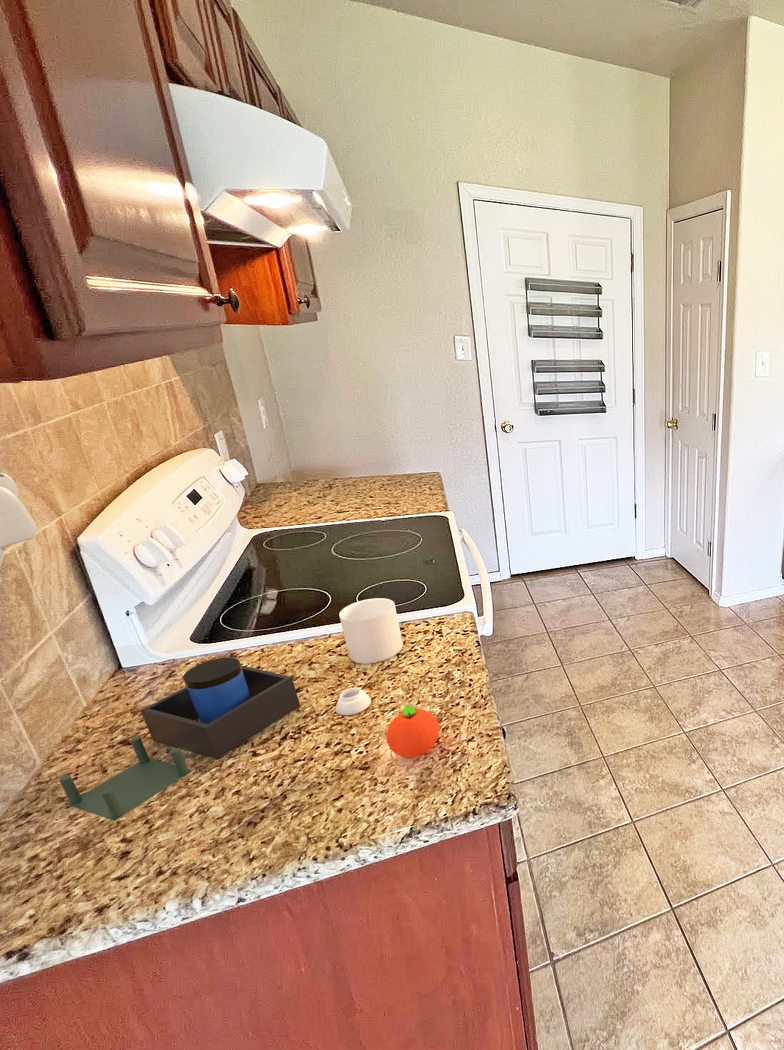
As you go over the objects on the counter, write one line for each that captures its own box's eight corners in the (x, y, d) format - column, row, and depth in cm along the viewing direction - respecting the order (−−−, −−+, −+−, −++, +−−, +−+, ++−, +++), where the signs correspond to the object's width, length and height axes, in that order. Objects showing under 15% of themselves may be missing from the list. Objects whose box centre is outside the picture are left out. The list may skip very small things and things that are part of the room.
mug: (402, 658, 109) (393, 615, 105) (346, 668, 105) (335, 624, 102) (405, 629, 119) (397, 589, 116) (354, 637, 115) (345, 596, 112)
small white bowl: (378, 702, 97) (356, 695, 98) (375, 687, 95) (352, 681, 97) (352, 720, 92) (329, 713, 94) (348, 705, 91) (325, 698, 93)
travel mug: (192, 733, 88) (171, 677, 84) (236, 707, 93) (218, 654, 90) (225, 742, 86) (204, 685, 82) (267, 715, 92) (250, 661, 88)
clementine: (388, 741, 88) (379, 703, 85) (437, 726, 91) (430, 689, 89) (393, 774, 82) (384, 734, 79) (445, 756, 85) (438, 717, 83)
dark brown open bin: (155, 746, 86) (139, 710, 83) (242, 695, 97) (231, 662, 95) (219, 764, 83) (205, 727, 80) (301, 710, 94) (291, 676, 92)
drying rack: (68, 809, 74) (53, 780, 73) (149, 762, 83) (137, 734, 81) (117, 826, 72) (103, 796, 71) (195, 775, 80) (184, 747, 79)
